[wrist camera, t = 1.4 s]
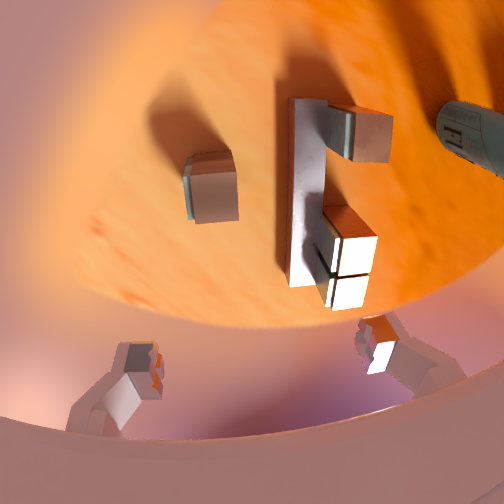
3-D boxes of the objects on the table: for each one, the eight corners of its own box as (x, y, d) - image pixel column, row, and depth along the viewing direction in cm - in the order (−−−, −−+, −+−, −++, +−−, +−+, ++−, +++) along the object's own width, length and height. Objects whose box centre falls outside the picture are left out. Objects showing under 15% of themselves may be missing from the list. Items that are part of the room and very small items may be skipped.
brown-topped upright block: (188, 154, 27) (181, 176, 21) (231, 150, 28) (236, 171, 22) (192, 192, 29) (188, 224, 24) (233, 189, 30) (238, 220, 24)
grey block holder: (288, 97, 25) (311, 103, 20) (356, 100, 26) (393, 110, 20) (285, 274, 36) (299, 315, 30) (340, 268, 37) (361, 306, 31)
